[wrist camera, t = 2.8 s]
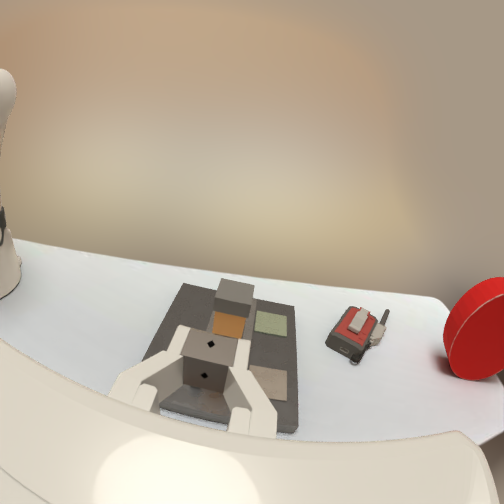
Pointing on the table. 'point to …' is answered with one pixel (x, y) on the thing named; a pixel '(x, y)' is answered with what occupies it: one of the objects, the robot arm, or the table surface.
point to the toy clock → (477, 331)
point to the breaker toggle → (232, 307)
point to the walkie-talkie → (356, 333)
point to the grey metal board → (260, 360)
